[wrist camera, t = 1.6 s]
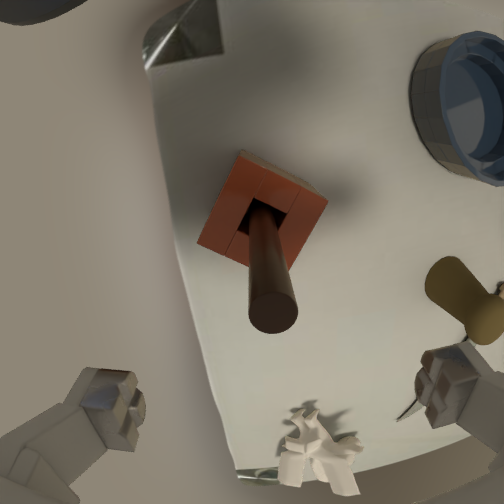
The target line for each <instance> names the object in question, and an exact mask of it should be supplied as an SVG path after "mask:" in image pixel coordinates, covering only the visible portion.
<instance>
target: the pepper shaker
mask: <svg viewBox="0 0 504 504" xmlns="http://www.w3.org/2000/svg"><path fill="white" fill-rule="evenodd" d="M425 291H426V294H427V296H428V297H429V298H430V299H431V300H432V301H433V302H434V303H436V304H437V305H439V306H440V307H441V308H443V309H444V310H445V311H447V312H448V313H449V314H451V315H452V316H453V317H455V318H456V319H457V320H459V321H460V322H461V323H462V324H464V327H465V331H466V333H467V335H468V337H469V338H470V339H471V340H472V341H473V342H474V343H476V344H479V345H489V344H491V343H493V342H494V341H495V340H497V339H498V338H499V337H500V336H501V334H502V333H503V332H504V299H502V298H501V297H499V296H497V295H495V294H489V293H488V292H487V291H486V289H485V288H484V287H483V286H482V285H481V283H480V282H479V281H478V280H477V279H476V278H475V276H474V275H473V274H472V273H471V272H470V271H469V270H468V268H467V267H466V266H465V265H464V264H463V263H462V262H461V261H460V259H458V258H456V257H450V256H448V257H445V258H442V259H441V260H439V261H438V262H437V263H435V265H434V266H433V267H432V268H431V269H430V271H429V273H428V275H427V278H426V282H425Z"/></svg>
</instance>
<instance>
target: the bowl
mask: <svg viewBox="0 0 504 504" xmlns="http://www.w3.org/2000/svg"><path fill="white" fill-rule="evenodd" d="M411 94H412V95H411V98H412V105H413V112H414V119H415V121H416V124H417V126H418V129H419V132H420V134H421V137H422V140H423V142H424V143H425V144H426V146H427V147H428V149H429V150H430V152H431V153H432V154H433V156H434V157H435V159H436V160H437V161H439V162H440V163H441V164H442V165H443V166H445V167H446V168H447V169H448V170H450V171H451V172H454V173H457V174H460V175H462V176H465V177H468V178H471V179H475V180H478V181H481V182H484V183H487V184H490V185H493V186H495V187H499V186H504V41H503V40H502V39H500V38H499V37H497V36H496V35H493V34H489V33H485V32H481V31H474V32H470V33H465V34H461V35H458V36H455V37H453V38H450V39H447V40H444V41H441V42H439V43H436V44H434V45H433V46H432V47H430V48H429V49H428V50H427V51H426V52H425V53H424V54H423V55H422V56H421V58H420V60H419V62H418V64H417V66H416V68H415V71H414V74H413V83H412V91H411Z"/></svg>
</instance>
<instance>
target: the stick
mask: <svg viewBox="0 0 504 504" xmlns="http://www.w3.org/2000/svg"><path fill="white" fill-rule="evenodd" d="M248 315H249V319H250V322H251V323H252V325H253V326H254V327H255V328H256V329H258V330H259V331H261V332H264V333H268V334H277V333H281V332H284V331H286V330H287V329H289V328H290V327H291V326H292V325H293V324H294V323H295V321H296V319H297V316H298V307H297V303H296V299H295V295H294V291H293V287H292V283H291V279H290V275H289V272H288V268H287V264H286V260H285V256H284V253H283V249H282V245H281V241H280V238H279V234H278V230H277V227H276V223H275V219H274V216H273V212H272V208H271V206H270V205H268V204H266V203H264V202H262V201H260V200H258V199H256V198H253V200H252V202H251V204H250V205H249V306H248Z"/></svg>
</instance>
